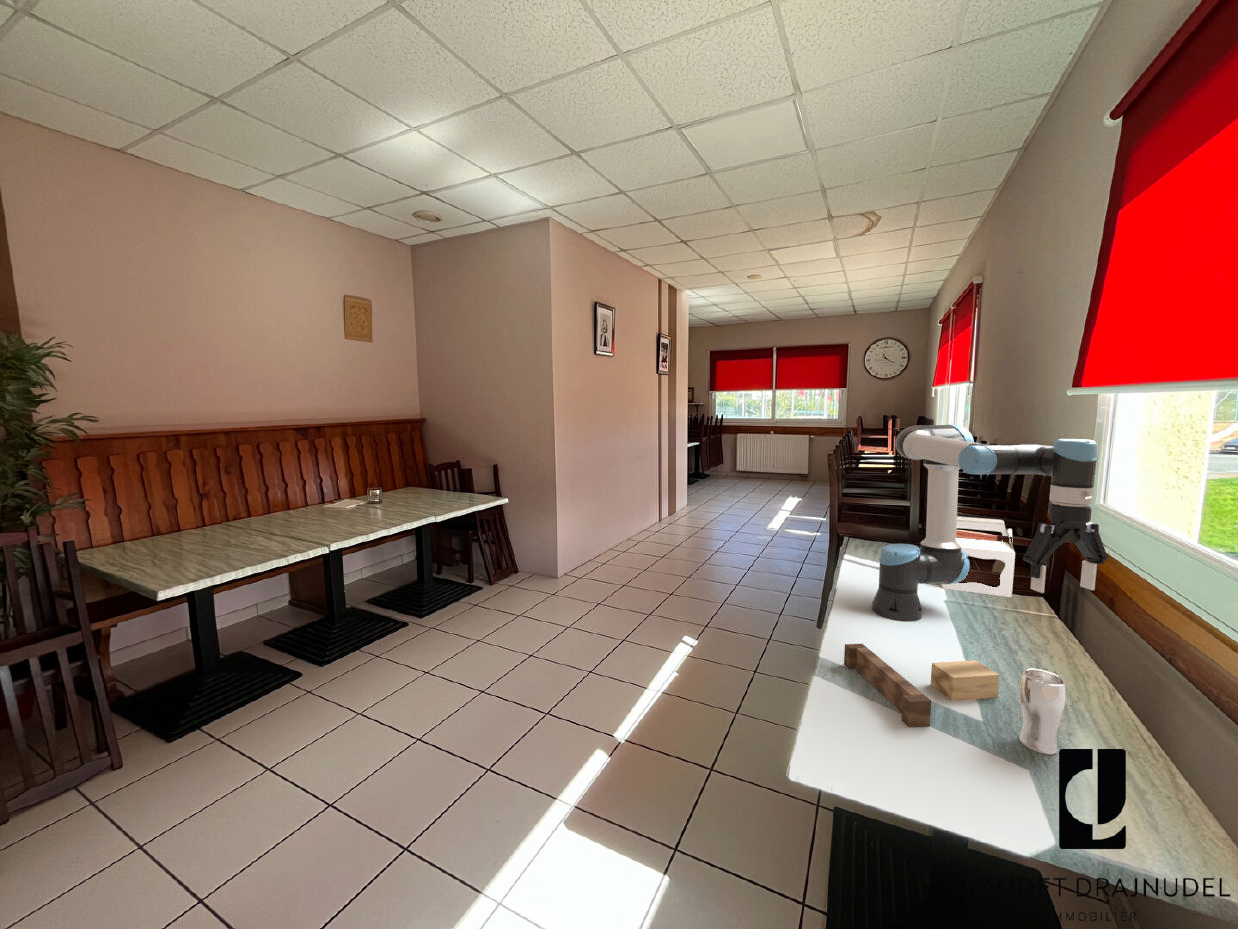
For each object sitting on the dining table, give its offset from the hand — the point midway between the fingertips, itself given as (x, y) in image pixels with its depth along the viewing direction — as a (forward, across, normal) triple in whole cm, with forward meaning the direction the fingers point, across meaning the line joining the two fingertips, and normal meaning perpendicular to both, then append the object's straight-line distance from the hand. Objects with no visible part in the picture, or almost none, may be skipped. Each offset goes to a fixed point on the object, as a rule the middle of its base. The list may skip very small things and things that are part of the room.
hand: (1062, 589), depth 119 cm
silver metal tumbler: (+26, -23, -18) cm, 39 cm away
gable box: (+26, +39, +67) cm, 82 cm away
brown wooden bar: (+26, -42, +4) cm, 49 cm away
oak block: (+26, -22, +2) cm, 34 cm away
